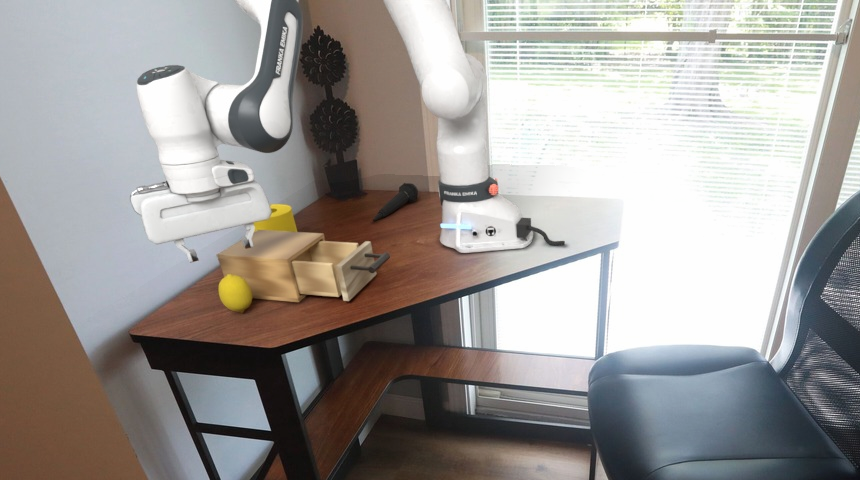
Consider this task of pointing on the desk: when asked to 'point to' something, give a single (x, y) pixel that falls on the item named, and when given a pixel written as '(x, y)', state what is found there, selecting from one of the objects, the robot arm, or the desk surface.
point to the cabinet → (269, 263)
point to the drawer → (336, 268)
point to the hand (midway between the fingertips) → (221, 253)
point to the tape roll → (278, 219)
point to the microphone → (399, 200)
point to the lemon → (235, 293)
